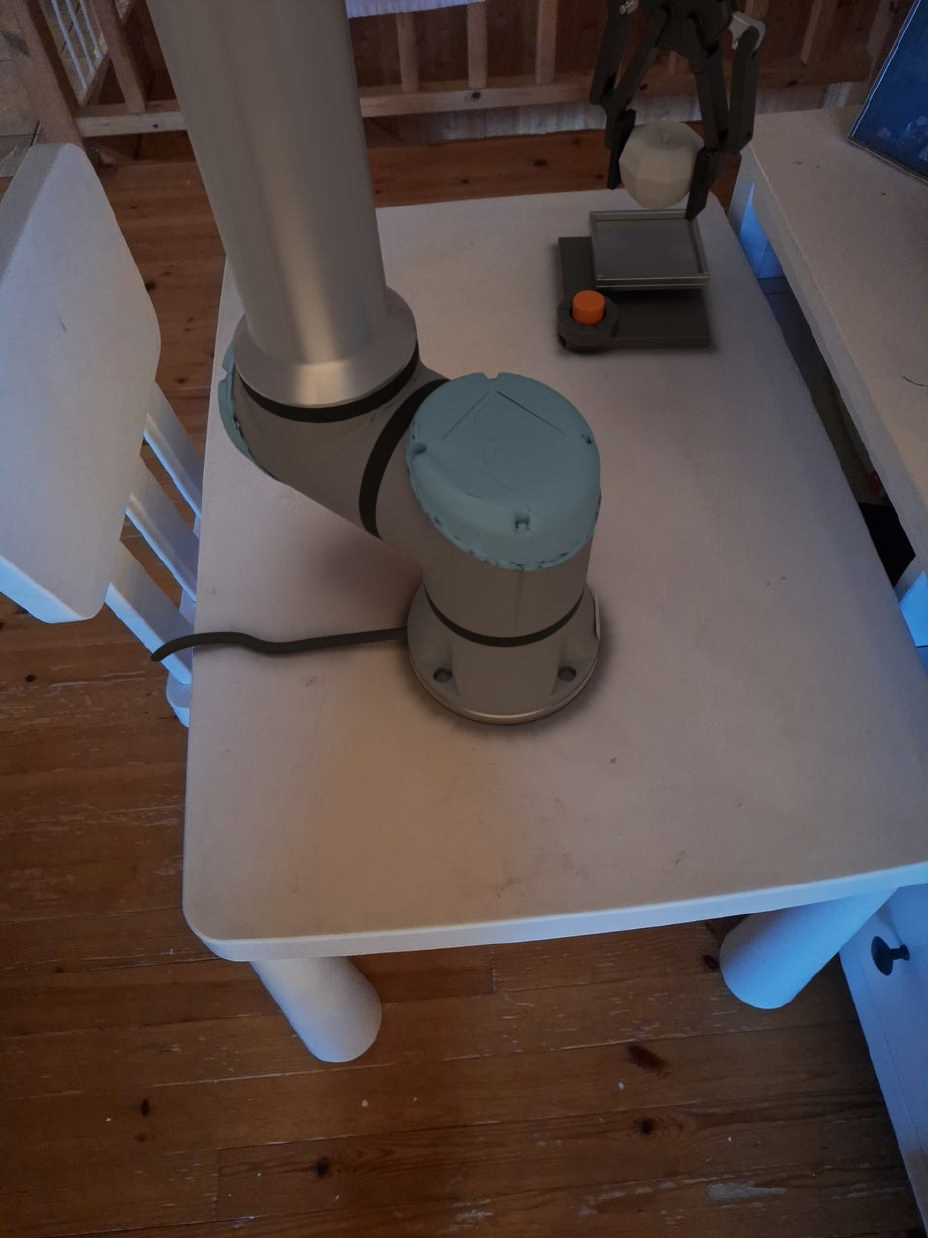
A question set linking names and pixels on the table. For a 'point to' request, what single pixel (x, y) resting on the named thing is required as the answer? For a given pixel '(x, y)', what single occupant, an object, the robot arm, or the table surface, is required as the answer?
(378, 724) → the table surface
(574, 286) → the scale
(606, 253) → the scale pan
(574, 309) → the tare button
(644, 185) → the apple
